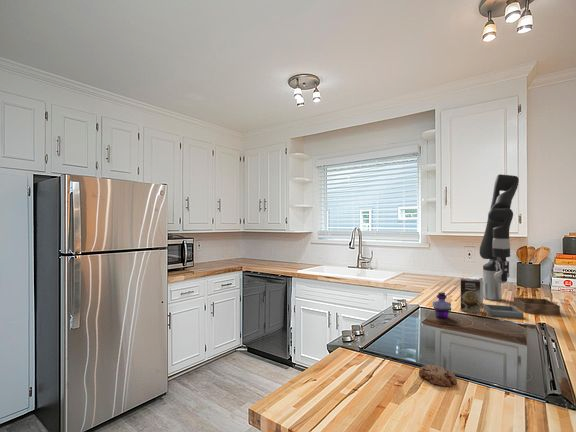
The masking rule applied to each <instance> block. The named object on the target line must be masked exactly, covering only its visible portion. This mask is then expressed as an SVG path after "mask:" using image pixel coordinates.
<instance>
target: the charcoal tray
mask: <svg viewBox="0 0 576 432" xmlns="http://www.w3.org/2000/svg"><path fill="white" fill-rule="evenodd" d="M482 304H483V303H482ZM482 308H483V311H485V312H486V313H487V314H488V315H489V316H490V317H495V318H506V319H507V318H510V319H524V312H523V311H522V310H520V309H519V308H517V307H516V306H514V305H512V306H511V305H499V304H485V303H484V304H483V307H482Z"/></svg>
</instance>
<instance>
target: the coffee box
mask: <svg viewBox="0 0 576 432" xmlns="http://www.w3.org/2000/svg"><path fill="white" fill-rule="evenodd" d="M459 280H460V282H459V283H460V311H461V312H468V313H476V314H477V313H478V314H481V304H480V280H471V279H467V278H460V279H459Z"/></svg>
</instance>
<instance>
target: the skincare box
mask: <svg viewBox="0 0 576 432" xmlns="http://www.w3.org/2000/svg"><path fill="white" fill-rule="evenodd" d="M466 279H471V280H480V305H482V304H483V303H484V298H483V277H480V276H473V275H472V276H470V277H466Z"/></svg>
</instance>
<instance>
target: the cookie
mask: <svg viewBox="0 0 576 432" xmlns="http://www.w3.org/2000/svg"><path fill="white" fill-rule="evenodd" d="M418 374H419V376H420V377H421V378H423V379H424V380H427V381H429V383H430V384H433V385H439V386H442V387H450V388H451V386H456V385H457V383H458V380H457V377H456V375H455V373H454V372H453V371H450V370H448V369H447V370H446V369H445V368H444V367H442V366H441V365H440V366H439V365H434V364H425V365H423V366H421V367H420V368H419V371H418Z"/></svg>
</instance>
